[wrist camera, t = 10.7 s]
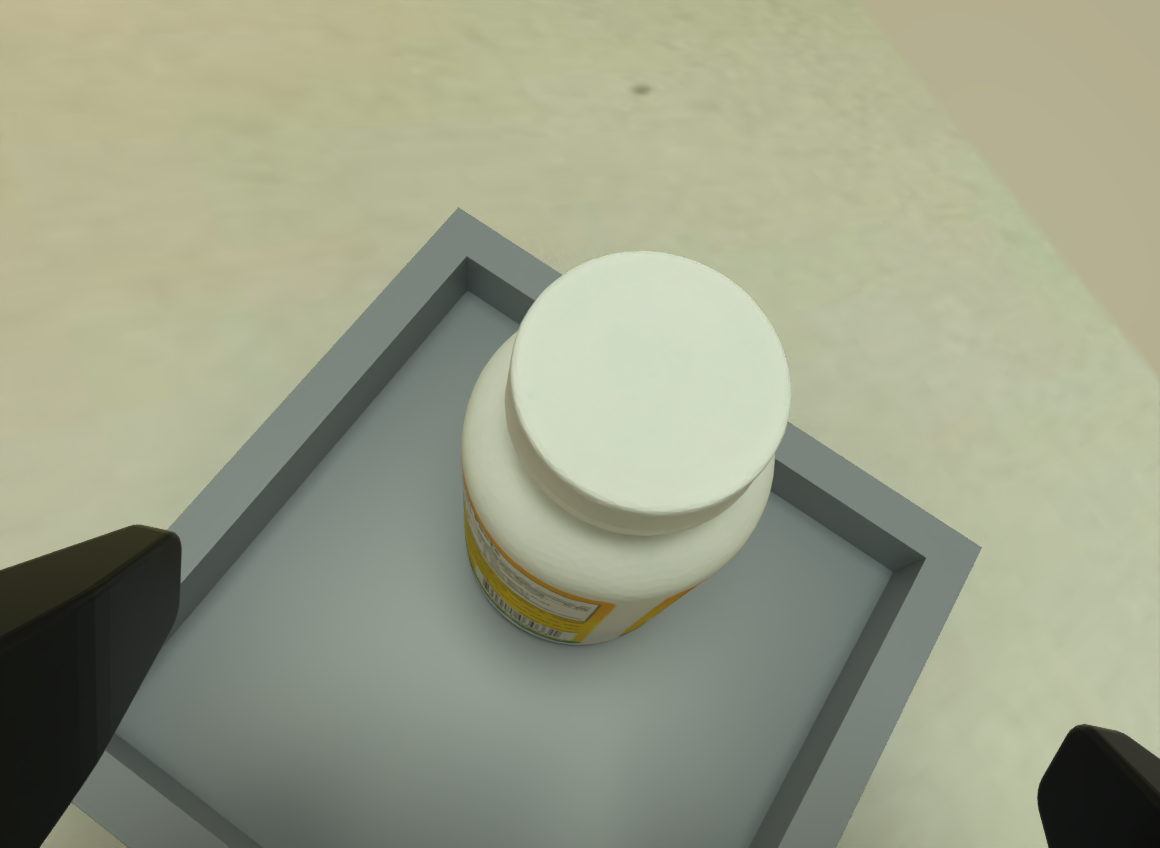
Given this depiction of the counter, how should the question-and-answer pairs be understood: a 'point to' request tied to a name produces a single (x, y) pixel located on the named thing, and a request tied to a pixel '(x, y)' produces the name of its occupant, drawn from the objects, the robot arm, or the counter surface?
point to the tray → (503, 632)
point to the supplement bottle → (620, 445)
